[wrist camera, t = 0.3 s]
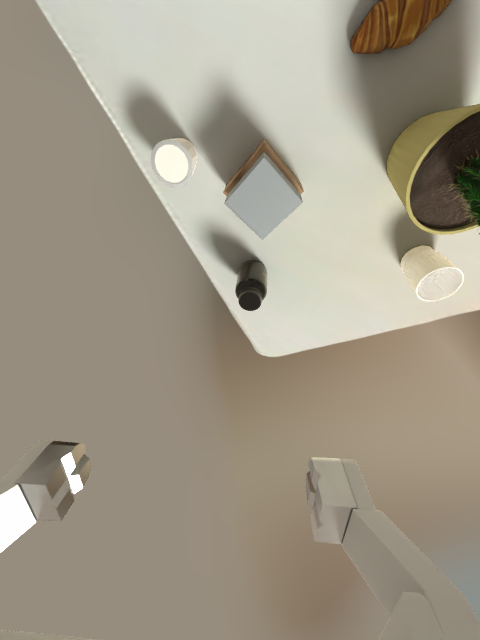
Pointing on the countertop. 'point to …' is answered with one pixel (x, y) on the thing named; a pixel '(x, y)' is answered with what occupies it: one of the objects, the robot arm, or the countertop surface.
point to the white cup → (431, 273)
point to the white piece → (174, 161)
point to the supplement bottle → (251, 285)
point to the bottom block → (251, 161)
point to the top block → (263, 197)
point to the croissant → (395, 24)
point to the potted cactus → (439, 170)
